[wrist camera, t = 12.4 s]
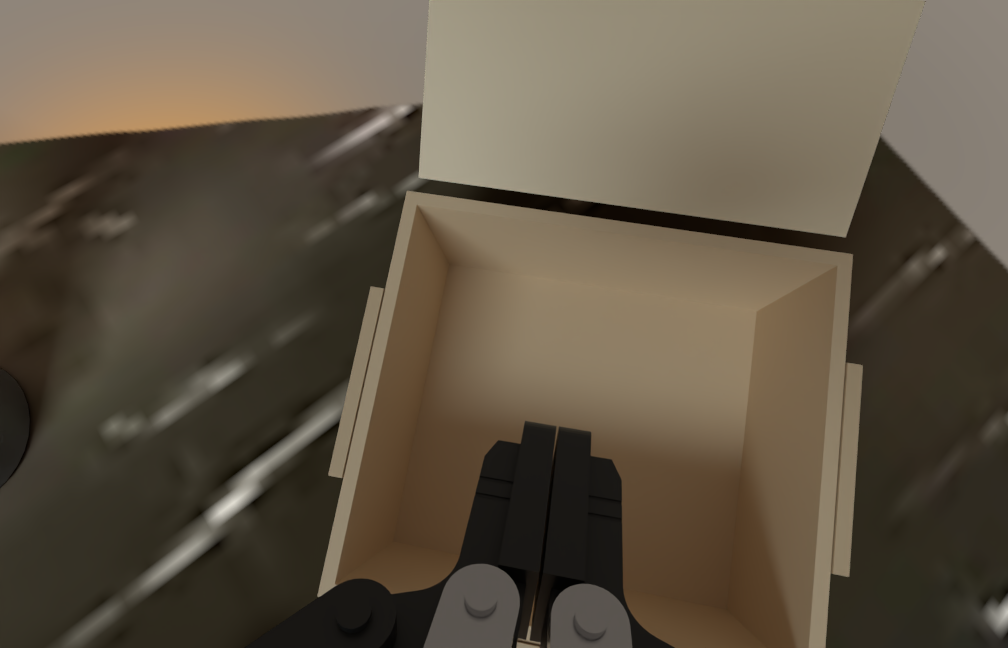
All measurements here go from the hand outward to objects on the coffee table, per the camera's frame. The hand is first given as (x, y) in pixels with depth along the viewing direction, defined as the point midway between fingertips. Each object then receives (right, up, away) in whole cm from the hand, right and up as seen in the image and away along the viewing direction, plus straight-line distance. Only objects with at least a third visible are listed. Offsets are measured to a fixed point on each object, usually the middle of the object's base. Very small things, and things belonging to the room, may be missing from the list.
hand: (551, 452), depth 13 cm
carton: (+3, -3, +21) cm, 21 cm away
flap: (+5, +12, +11) cm, 17 cm away
